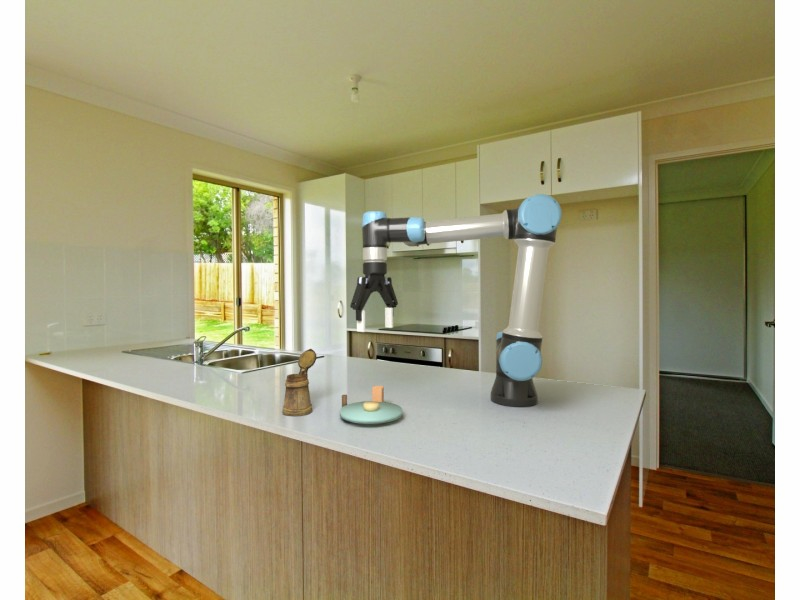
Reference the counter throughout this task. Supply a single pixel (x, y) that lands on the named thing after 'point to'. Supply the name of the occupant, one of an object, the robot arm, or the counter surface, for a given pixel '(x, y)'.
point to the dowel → (344, 400)
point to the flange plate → (370, 416)
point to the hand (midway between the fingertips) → (375, 329)
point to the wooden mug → (299, 387)
